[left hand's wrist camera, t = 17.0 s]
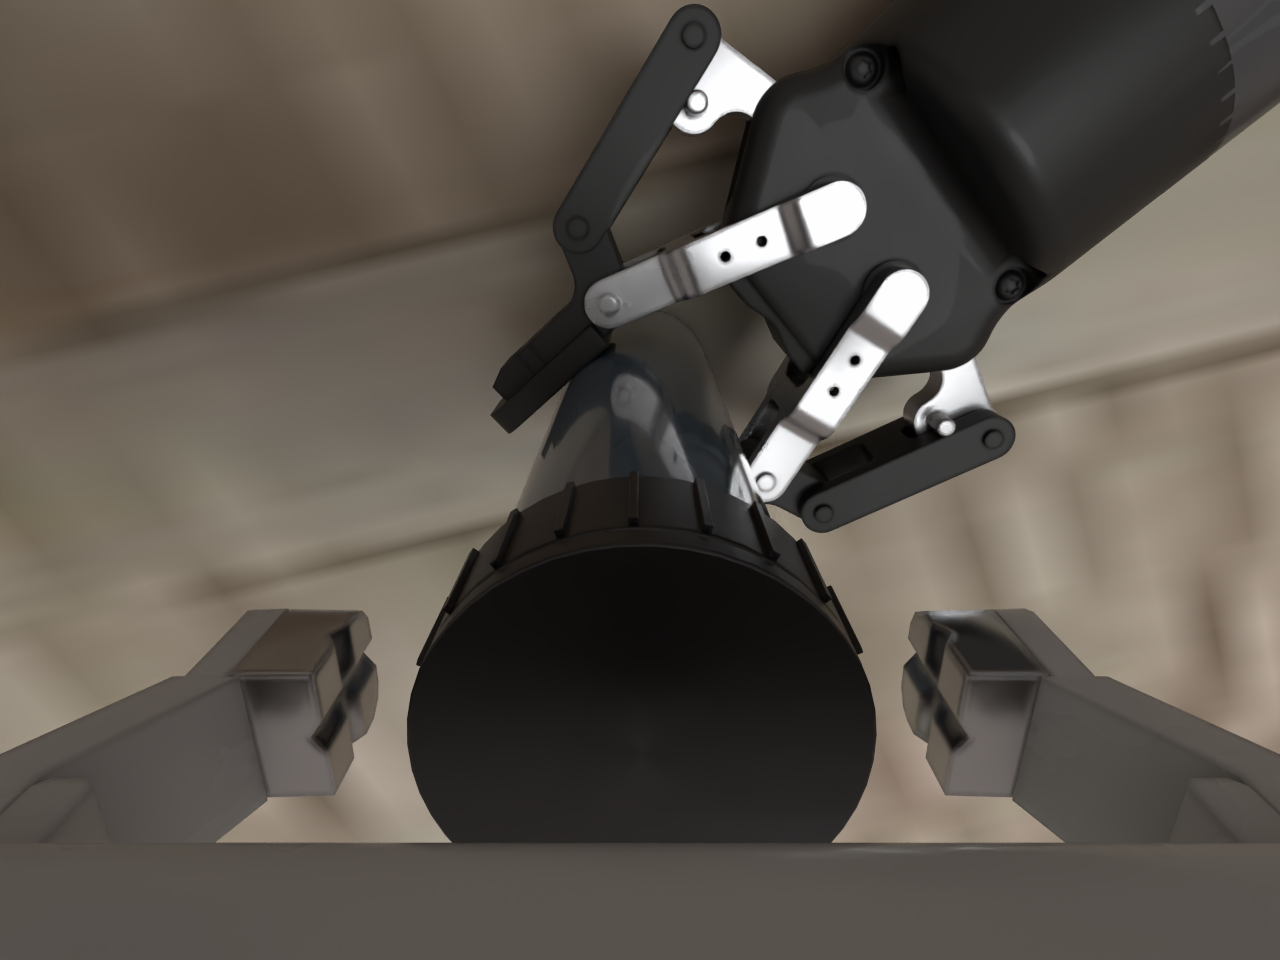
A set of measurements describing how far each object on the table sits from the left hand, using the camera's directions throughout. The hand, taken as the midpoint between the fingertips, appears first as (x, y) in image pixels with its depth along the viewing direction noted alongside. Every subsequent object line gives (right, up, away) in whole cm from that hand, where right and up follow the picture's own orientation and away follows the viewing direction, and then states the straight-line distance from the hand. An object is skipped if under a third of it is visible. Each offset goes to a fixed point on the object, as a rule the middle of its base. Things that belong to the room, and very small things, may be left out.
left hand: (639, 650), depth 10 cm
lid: (0, -1, -2) cm, 2 cm away
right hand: (-2, +2, +11) cm, 11 cm away
